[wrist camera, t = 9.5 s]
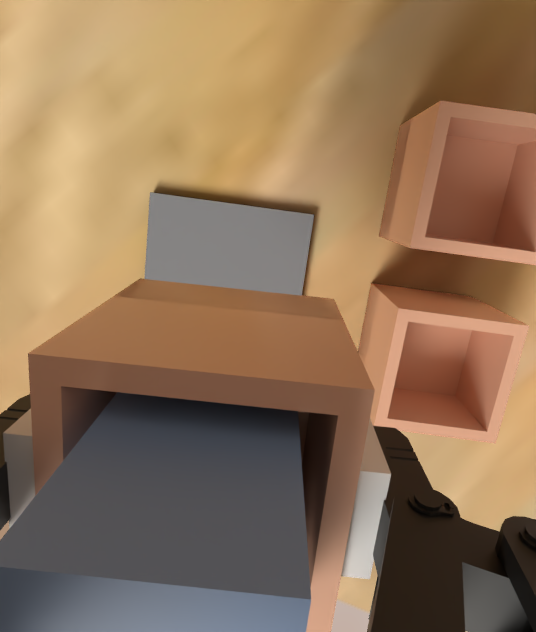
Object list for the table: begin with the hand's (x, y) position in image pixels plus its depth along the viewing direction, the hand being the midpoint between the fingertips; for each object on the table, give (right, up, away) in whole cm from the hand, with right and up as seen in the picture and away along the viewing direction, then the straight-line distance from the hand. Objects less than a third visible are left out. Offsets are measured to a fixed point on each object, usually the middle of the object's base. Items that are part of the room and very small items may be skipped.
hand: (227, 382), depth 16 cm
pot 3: (+11, +1, +14) cm, 18 cm away
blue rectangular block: (0, -1, -2) cm, 2 cm away
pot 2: (+12, +10, +12) cm, 19 cm away
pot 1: (0, 0, 0) cm, 0 cm away
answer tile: (-1, +5, +14) cm, 14 cm away
